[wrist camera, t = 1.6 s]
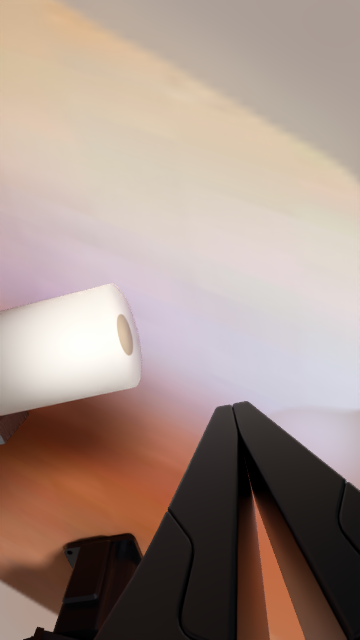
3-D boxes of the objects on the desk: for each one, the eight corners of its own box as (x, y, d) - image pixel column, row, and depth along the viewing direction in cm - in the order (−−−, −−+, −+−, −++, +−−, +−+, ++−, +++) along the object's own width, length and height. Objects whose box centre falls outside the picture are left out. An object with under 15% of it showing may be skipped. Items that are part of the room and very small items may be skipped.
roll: (121, 275, 19) (91, 297, 13) (147, 358, 20) (131, 409, 15) (6, 304, 20) (-70, 337, 14) (40, 381, 21) (-14, 439, 16)
